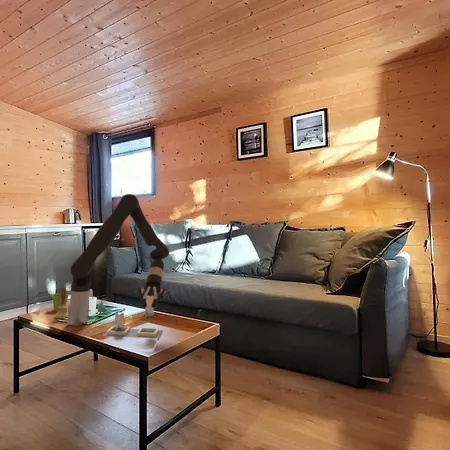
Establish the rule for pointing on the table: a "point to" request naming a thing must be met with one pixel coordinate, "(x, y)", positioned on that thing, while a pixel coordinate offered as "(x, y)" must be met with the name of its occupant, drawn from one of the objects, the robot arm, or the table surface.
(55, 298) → the plant pot
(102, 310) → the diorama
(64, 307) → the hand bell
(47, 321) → the table surface
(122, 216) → the robot arm
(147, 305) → the block
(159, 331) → the pallet board
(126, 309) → the table surface
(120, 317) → the block
